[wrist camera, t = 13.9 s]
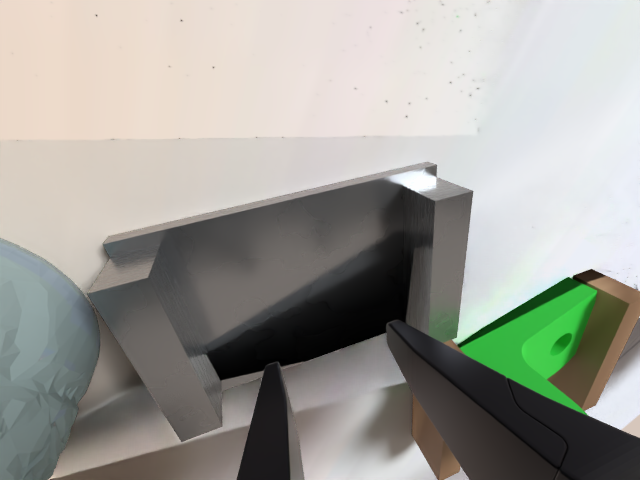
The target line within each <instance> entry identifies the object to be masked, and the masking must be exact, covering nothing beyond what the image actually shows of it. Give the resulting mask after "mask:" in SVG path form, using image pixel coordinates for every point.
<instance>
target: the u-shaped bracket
mask: <svg viewBox="0 0 640 480" xmlns="http://www.w3.org/2000/svg"><path fill="white" fill-rule="evenodd" d="M436 173H437V165H436V164H433V163H430V162H425V163H421V164H416V165H412V166H408V167H404V168H399V169H395V170H391V171H386V172H382V173H378V174H374V175H369V176H365V177H361V178H356V179H352V180H348V181H344V182H339V183H335V184H331V185H326V186H322V187H318V188H314V189H309V190H305V191H301V192H297V193H292V194H288V195H284V196H279V197H275V198H271V199H267V200H262V201H258V202H254V203H249V204H245V205H241V206H237V207H232V208H228V209H224V210H219V211H215V212H211V213H207V214H202V215H198V216H194V217H189V218H185V219H181V220H177V221H172V222H168V223H164V224H160V225H155V226H151V227H147V228H142V229H138V230H134V231H130V232H125V233H121V234H117V235H112V236H109V237H108V238H107V239H106V240H105V242H104V243H103V246H104V248H105V249H106V251H107V253H108V255H109V257H110V259H109V260H108V262H107V263H106V265H105V267H104V268H103V270H102V271H101V273H100V274H99V276H98V277H97V279H96V281H95V282H94V284H93V285H92V287H91V288H90V290H89V291H88V293H87V295H88V296H89V298H90V299H91V301H92V303H93V304H94V306H95V307H96V309H97V310H98V312H99V313H100V315H101V317H102V318H103V320H104V321H105V323H106V324H107V326H108V328H109V329H110V331H111V332H112V334H113V335H114V337H115V339H116V340H117V342H118V343H119V345H120V346H121V348H122V349H123V351H124V353H125V354H126V356H127V357H128V359H129V360H130V362H131V364H132V365H133V367H134V368H135V370H136V371H137V373H138V374H139V376H140V378H141V379H142V381H143V382H144V384H145V385H146V387H147V389H148V390H149V392H150V393H151V395H152V396H153V398H154V400H155V401H156V403H157V404H158V406H159V407H160V409H161V410H162V412H163V414H164V415H165V417H166V418H167V420H168V421H169V423H170V425H171V426H172V428H173V429H174V431H175V432H176V434H177V436H178V437H179V439H180V440H181V442H183V441H186V440H188V439H191V438H193V437H196V436H199V435H201V434H204V433H207V432H209V431H212V430H215V429H217V428H220V427H222V391H224V390H227V389H230V388H233V387H236V386H238V385H241V384H244V383H247V382H250V381H252V380H255V379H258V378H261V377H263V373H264V369H265V367H266V365H268V364H271V363H274V362H279V364H280V367H281V370H283V369H286V368H289V367H292V366H295V365H297V364H300V363H303V362H306V361H309V360H311V359H314V358H317V357H320V356H323V355H325V354H328V353H331V352H334V351H337V350H340V349H342V348H345V347H348V346H351V345H354V344H356V343H359V342H362V341H365V340H368V339H370V338H373V337H376V336H379V335H382V334H385V333H387V331H386V325H387V323H389V322H392V321H394V320H401V321H402V322H404V323H406V324H408V325H410V326H412V327H414V328H416V329H418V330H419V331H421V332H423V333H425V334H427V335H429V336H431V337H433V338H435V339H436V340H438V341H440V342H442V343H444V342H446V341H449V340H452V339H454V338H457V331H458V322H459V313H460V304H461V295H462V286H463V277H464V268H465V259H466V250H467V241H468V233H469V224H470V215H471V206H472V197H473V191H472V190H469V189H466V188H464V187H461V186H458V185H456V184H453V183H450V182H448V181H445V180H442V179H440V178H437V177H436Z"/></svg>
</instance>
